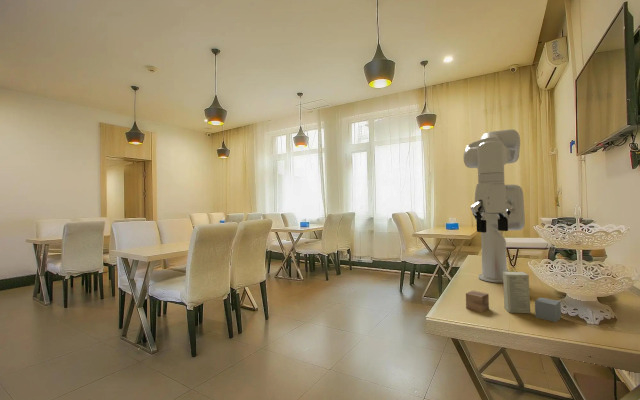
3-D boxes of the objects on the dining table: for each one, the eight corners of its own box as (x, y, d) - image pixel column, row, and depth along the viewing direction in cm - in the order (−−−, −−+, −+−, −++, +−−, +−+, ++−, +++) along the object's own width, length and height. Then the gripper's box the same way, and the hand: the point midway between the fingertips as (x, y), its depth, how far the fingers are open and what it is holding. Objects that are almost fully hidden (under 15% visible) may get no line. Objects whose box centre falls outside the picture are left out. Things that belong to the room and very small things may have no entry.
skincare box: (525, 309, 97) (524, 271, 97) (530, 314, 92) (529, 274, 93) (503, 307, 98) (502, 270, 99) (507, 312, 94) (506, 274, 94)
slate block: (541, 313, 93) (540, 297, 93) (560, 318, 89) (560, 301, 89) (535, 317, 90) (534, 300, 90) (555, 322, 86) (555, 305, 86)
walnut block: (473, 305, 102) (473, 290, 102) (488, 309, 98) (488, 293, 98) (466, 308, 99) (465, 293, 99) (481, 312, 95) (481, 296, 95)
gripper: (499, 180, 105) (500, 229, 105) (462, 180, 99) (463, 231, 99) (520, 179, 98) (521, 231, 98) (481, 178, 92) (483, 233, 92)
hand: (492, 231), depth 98 cm, fingers open, 9 cm apart
